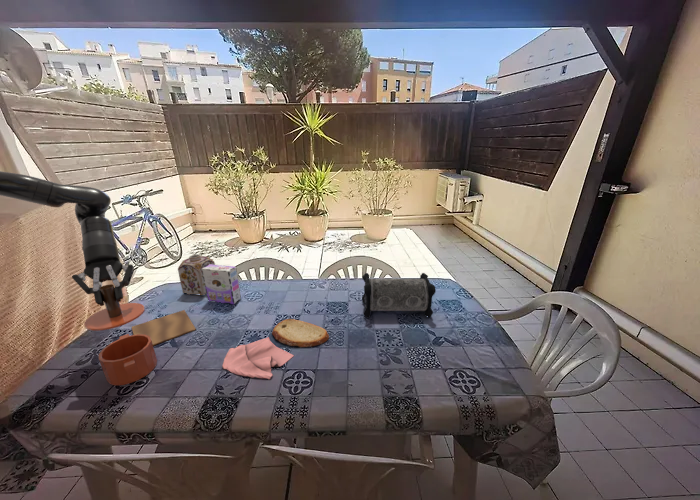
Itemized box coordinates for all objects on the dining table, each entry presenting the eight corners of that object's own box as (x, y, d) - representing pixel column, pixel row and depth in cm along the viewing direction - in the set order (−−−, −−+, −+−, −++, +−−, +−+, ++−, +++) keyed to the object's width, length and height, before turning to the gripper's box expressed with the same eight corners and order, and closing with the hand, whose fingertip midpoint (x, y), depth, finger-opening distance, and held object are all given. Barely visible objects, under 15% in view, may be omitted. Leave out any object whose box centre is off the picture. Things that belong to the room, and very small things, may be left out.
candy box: (241, 298, 126) (237, 266, 120) (233, 305, 120) (228, 271, 115) (216, 295, 129) (210, 263, 123) (207, 301, 123) (200, 268, 118)
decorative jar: (204, 296, 128) (197, 261, 122) (182, 294, 129) (174, 259, 123) (219, 285, 139) (214, 252, 133) (199, 283, 140) (192, 250, 134)
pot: (108, 398, 74) (99, 374, 71) (106, 363, 87) (97, 341, 84) (162, 375, 82) (155, 352, 79) (152, 346, 94) (146, 325, 92)
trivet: (137, 351, 92) (137, 350, 92) (131, 327, 104) (131, 326, 104) (196, 330, 103) (195, 328, 103) (184, 310, 116) (184, 309, 116)
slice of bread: (332, 340, 98) (332, 331, 97) (283, 358, 89) (283, 348, 88) (312, 316, 112) (312, 308, 111) (269, 329, 104) (268, 321, 103)
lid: (85, 339, 69) (71, 304, 66) (85, 317, 79) (74, 285, 75) (148, 319, 78) (139, 287, 75) (142, 301, 87) (133, 272, 84)
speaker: (361, 301, 124) (362, 271, 119) (423, 301, 124) (426, 271, 119) (363, 320, 110) (364, 287, 105) (433, 319, 110) (437, 286, 105)
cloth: (222, 349, 93) (221, 343, 92) (285, 333, 102) (285, 327, 101) (222, 394, 76) (221, 387, 75) (299, 370, 84) (299, 364, 83)
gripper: (133, 250, 87) (143, 299, 82) (72, 260, 79) (80, 315, 74) (128, 238, 81) (139, 290, 76) (62, 247, 73) (70, 306, 68)
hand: (110, 302), depth 75 cm, fingers closed on lid, 3 cm apart
